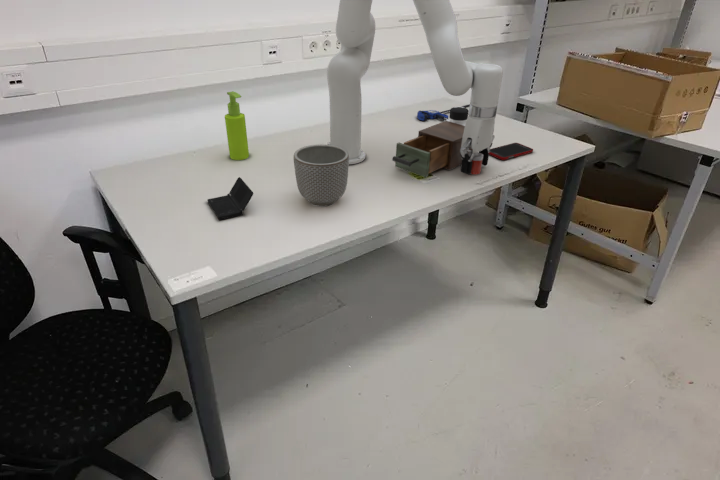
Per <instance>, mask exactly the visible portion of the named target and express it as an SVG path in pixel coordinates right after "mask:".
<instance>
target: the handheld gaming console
mask: <svg viewBox="0 0 720 480" xmlns="http://www.w3.org/2000/svg"><path fill="white" fill-rule="evenodd" d="M253 196H254V191H253V190H252V189H251V188H250V187H249V186H248V184H247V183H246V182H245V181H244V180H243V179H242V177H240V176H239V177H237V178H236V180H235V182H234V184H233V185H232V187H231V189H230V191H229V193H227V194H226V195H222V196H217V197H211V198H208V199H207V204H208V205H209V206H210V208H211V210H212V212H213V213H214V214H215V216H216V217H217V219H218V220H219V221H223V220H227V219H231V218H236V217H240V216H243V215H244V211H245V209H246V207H247V206H248V204H249V202H250V201H251V199H252V197H253Z"/></svg>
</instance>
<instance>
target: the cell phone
mask: <svg viewBox="0 0 720 480" xmlns="http://www.w3.org/2000/svg"><path fill="white" fill-rule="evenodd" d="M533 152H534V148H532V147H529V146H527V145H524V144H522V143H519V142H511V143H508V144H505V145H500V146H496V147H493V148H490V152H489V156H491V157H494V158H496V159H499V160H501V161H505V160H508V159H513V158H517V157H520V156H524V155H527V154H531V153H533Z"/></svg>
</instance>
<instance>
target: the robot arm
mask: <svg viewBox="0 0 720 480" xmlns="http://www.w3.org/2000/svg"><path fill="white" fill-rule="evenodd" d="M412 1H413V4H414V7H415V9H416V12H417V15H418V17H419V20H420V23H421V25H422V29H423V30H424V33H425V38H426V41H427V44H428V48H429V50H430V51H429V52H430V54H431V57H432V60H433V64H434V67H435V70H436V72H437V75H438V77H439V80H440V82H441V85H442V87H443V89H444V90H445V91H446V93H448V94H449V95H451V96H453V97H459V96H460V97H461V96H463V95H466V94H467V92H468V91H469V90H470V89H471V93H470V100H469V104H470V106H468V107H469V109H468V111H469V112H468V118H467V121H466V124H465V128H464V133H463V138H462V144H461V149H460V153H461V157H462V158H461V159H462V164H461V165H460V172H461V173H464V174H466V175H472V174H471V170H472V164H473V161H472V158H473V156H474V154H475V153H477V152H479V153H482V154H483V155H484V156H483V161H482V166H484V167H486V166H488V162H489V158H490V157H489V156H490V155H489V152H490V149H491V147H492V146H493V142H494V139H495V135H494V133H495V123H496V122H495V121H496V117H497V110H498V104H499V98H500V92H501V87H502V80H503V75H504V74H503V73H504V69H503V67H502V66H501V65H498V64H496V63H488V62H487V63H479V62H472V61H469V60H465V58H464V55H463V51H462V48H461V44H460V39H459V34H458V32H459V31H458V21H457V17H456V15H455V11H454V9H453V6H452V3H451V1H450V0H412ZM372 4H373V0H339V5H338V11H337V17H336V23H335V36H336V39H337V41H338V42H339V44H340V51H339V52H338V53H336V54H335V55H333V56H332V58H331V59H330V61H329V62H328V65H327V69H326V80H327V86H328V97H329V141H328V142H327V143H326V145H334V146H338V147H341V148H343V149H345V150H346V151H347V152H348V154H349V165H355V164H360V163H362V162H363V161H364V160H365V159H366V151H364V150H362V104H363V103H362V88H361V79H362V78H363V77H364V76H365V75H366V73H367V71H369V68H370V63H371V57H372V51H373V47H374V41H375V36H376V35H375V34H376V20H375V17H374V15H373V13H372V12H371V9H372ZM469 148H470V149H473V151H472V150H469ZM468 152H469V153H471V154H470V156H469V155H468V154H467V153H468Z"/></svg>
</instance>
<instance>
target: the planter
mask: <svg viewBox="0 0 720 480" xmlns="http://www.w3.org/2000/svg"><path fill="white" fill-rule="evenodd" d="M349 166H350V164H349V154H348V152H347V151H346V150H345V149H343V148H341V147H338V146H334V145H327V144H323V143H322V144H321V143H319V144H311V145H306V146H302V147H300V148H298V149H296V150H295V152H294V153H293V167H294V175H295V180H296V186H297V189H298V192H299V194H300V196H301V197H302V198H304V199H305V200H307V201H308V202H309V203H310V204H311V205H313V206H316V207H328V206H331V205H333V204H335V203H336V201H338V200H339V199H340V198H341V197H342V196H343V195H344V194H345V192H346V190H347V186H348V178H349Z"/></svg>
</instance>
